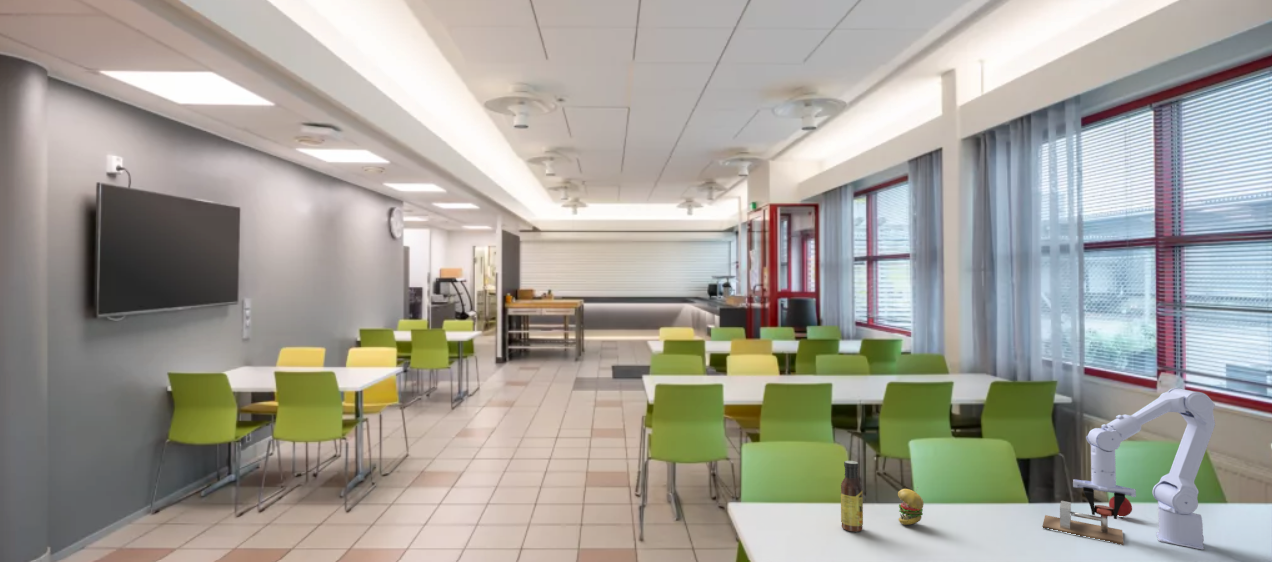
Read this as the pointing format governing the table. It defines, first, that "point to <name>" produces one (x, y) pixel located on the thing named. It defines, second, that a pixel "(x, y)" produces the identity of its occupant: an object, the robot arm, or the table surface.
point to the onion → (1122, 507)
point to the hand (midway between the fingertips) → (1104, 516)
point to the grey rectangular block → (1065, 515)
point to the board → (1085, 530)
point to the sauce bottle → (851, 499)
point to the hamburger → (910, 507)
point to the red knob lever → (1100, 510)
